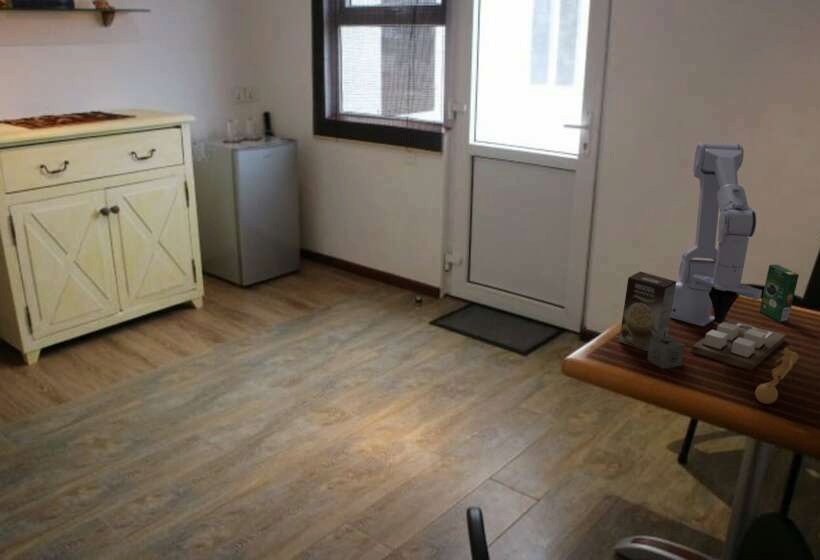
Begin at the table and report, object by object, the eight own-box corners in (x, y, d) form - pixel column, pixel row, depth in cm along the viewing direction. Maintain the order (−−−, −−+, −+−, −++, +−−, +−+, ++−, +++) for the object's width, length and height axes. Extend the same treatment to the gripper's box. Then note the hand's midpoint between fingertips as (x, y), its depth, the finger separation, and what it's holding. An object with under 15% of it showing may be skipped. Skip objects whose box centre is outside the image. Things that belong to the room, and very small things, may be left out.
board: (691, 352, 164) (692, 344, 163) (728, 325, 180) (730, 318, 180) (750, 370, 156) (752, 362, 155) (784, 340, 172) (786, 333, 171)
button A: (715, 336, 169) (717, 325, 168) (721, 331, 171) (723, 321, 171) (731, 340, 167) (733, 330, 166) (737, 336, 169) (739, 326, 168)
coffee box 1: (617, 342, 168) (626, 276, 163) (630, 334, 173) (639, 270, 168) (654, 354, 162) (665, 286, 157) (667, 346, 167) (677, 280, 162)
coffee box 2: (789, 322, 184) (800, 273, 179) (779, 323, 183) (790, 274, 179) (768, 311, 191) (777, 263, 187) (758, 311, 190) (768, 264, 186)
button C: (704, 344, 164) (705, 333, 163) (710, 340, 166) (712, 329, 166) (720, 349, 162) (722, 338, 161) (726, 344, 164) (728, 334, 163)
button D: (731, 352, 160) (733, 341, 159) (736, 347, 163) (738, 337, 162) (747, 357, 158) (750, 346, 157) (753, 352, 160) (755, 341, 160)
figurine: (752, 391, 146) (763, 336, 142) (785, 397, 144) (797, 342, 140) (754, 410, 139) (766, 352, 135) (789, 416, 137) (802, 358, 133)
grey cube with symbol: (647, 360, 160) (650, 339, 158) (665, 356, 161) (668, 336, 160) (663, 369, 155) (666, 348, 154) (681, 366, 157) (684, 344, 156)
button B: (742, 343, 165) (744, 333, 164) (747, 339, 168) (749, 328, 167) (758, 348, 163) (760, 337, 162) (764, 343, 165) (766, 333, 164)
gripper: (689, 260, 160) (680, 317, 164) (758, 275, 150) (746, 335, 155) (702, 254, 165) (692, 309, 169) (769, 268, 155) (757, 327, 160)
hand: (719, 321), depth 162 cm, fingers closed
